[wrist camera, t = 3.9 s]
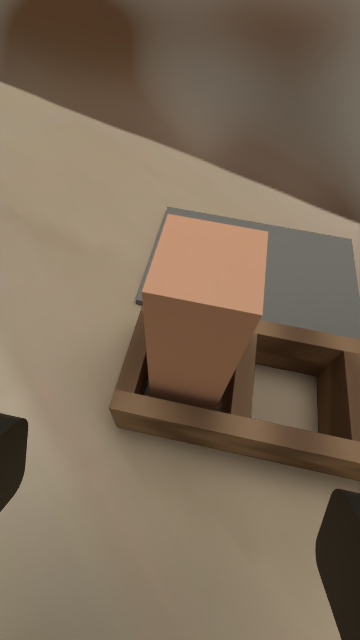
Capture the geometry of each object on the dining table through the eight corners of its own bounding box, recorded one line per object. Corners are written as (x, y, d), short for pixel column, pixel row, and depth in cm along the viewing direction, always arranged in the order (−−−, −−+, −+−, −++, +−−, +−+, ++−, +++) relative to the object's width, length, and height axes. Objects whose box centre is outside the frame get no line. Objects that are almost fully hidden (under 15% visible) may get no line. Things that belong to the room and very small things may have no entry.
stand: (419, 383, 26) (464, 359, 22) (446, 500, 21) (508, 495, 17) (147, 328, 27) (144, 297, 23) (117, 427, 23) (108, 408, 19)
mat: (348, 243, 34) (351, 239, 34) (361, 348, 27) (365, 344, 27) (167, 211, 35) (167, 206, 35) (136, 303, 28) (135, 299, 28)
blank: (218, 364, 26) (268, 231, 14) (210, 419, 23) (262, 315, 11) (164, 353, 26) (167, 213, 14) (150, 406, 24) (141, 291, 12)
